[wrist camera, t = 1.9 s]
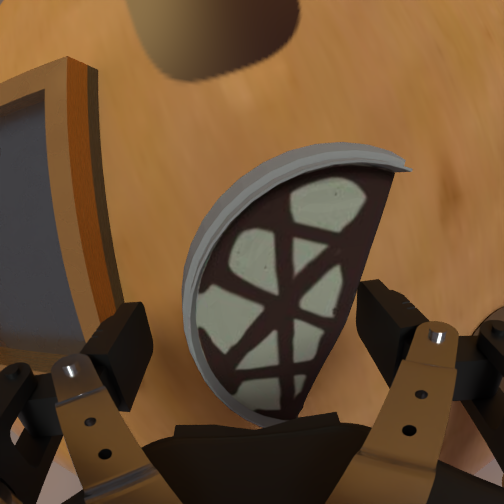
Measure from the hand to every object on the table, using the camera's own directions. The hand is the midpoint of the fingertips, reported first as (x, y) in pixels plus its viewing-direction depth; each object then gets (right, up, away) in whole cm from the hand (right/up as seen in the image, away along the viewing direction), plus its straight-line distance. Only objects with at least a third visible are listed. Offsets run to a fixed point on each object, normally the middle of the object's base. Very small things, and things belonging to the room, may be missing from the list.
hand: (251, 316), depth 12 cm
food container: (0, +4, +8) cm, 9 cm away
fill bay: (-18, +3, +8) cm, 20 cm away
